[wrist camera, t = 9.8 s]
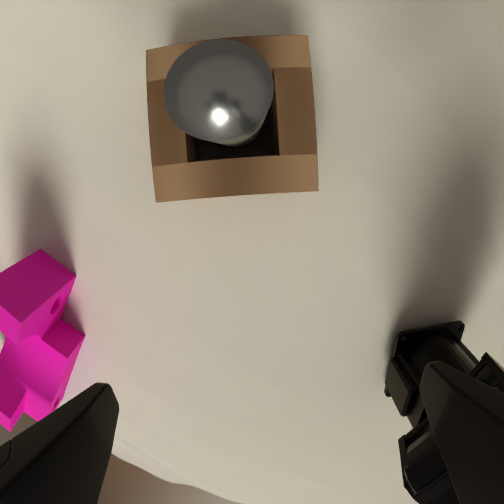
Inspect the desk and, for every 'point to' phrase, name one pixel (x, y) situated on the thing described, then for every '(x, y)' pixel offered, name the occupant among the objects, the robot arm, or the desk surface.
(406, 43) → the desk surface
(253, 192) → the brown square frame
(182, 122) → the metal canister
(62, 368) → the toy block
